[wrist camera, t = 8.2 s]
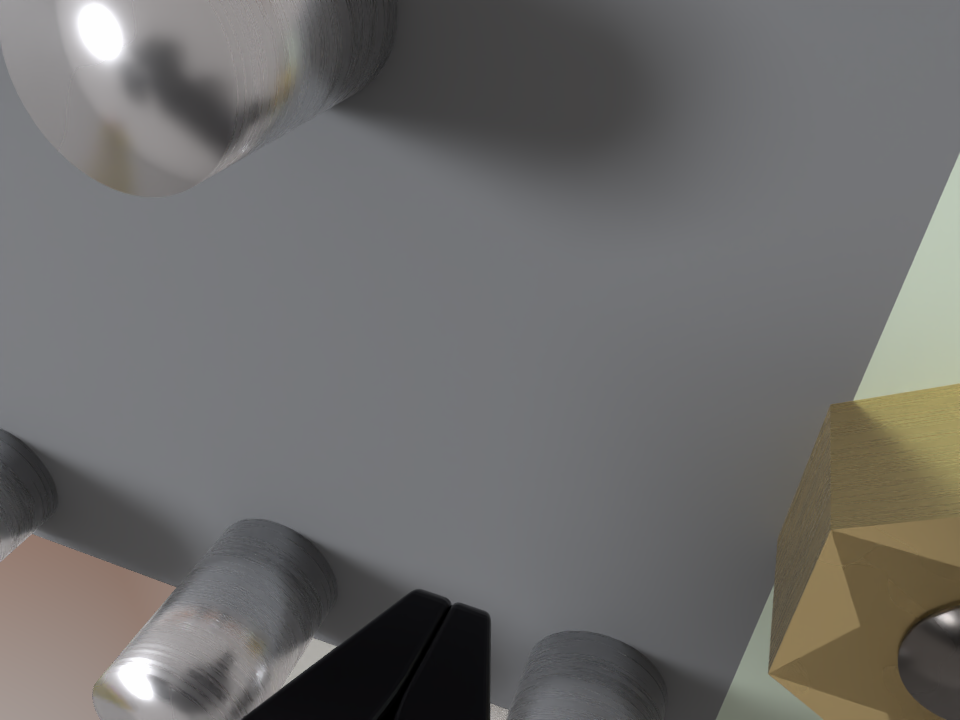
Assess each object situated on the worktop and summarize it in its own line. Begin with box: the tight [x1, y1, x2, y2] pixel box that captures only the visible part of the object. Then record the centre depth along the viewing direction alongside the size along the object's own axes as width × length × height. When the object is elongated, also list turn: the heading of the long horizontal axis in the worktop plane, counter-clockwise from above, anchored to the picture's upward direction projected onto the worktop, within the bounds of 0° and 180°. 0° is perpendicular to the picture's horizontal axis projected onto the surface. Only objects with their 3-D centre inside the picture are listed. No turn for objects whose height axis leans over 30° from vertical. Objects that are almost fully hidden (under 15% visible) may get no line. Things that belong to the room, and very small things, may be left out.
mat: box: [0, 0, 960, 720], centre depth 13 cm, size 23×13×1 cm, turn 84°
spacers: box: [0, 0, 667, 720], centre depth 12 cm, size 14×12×4 cm
